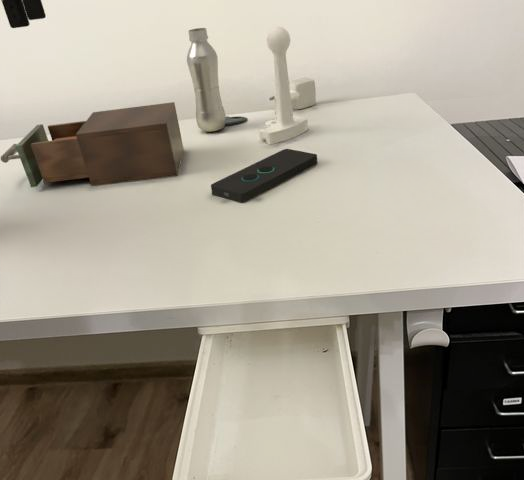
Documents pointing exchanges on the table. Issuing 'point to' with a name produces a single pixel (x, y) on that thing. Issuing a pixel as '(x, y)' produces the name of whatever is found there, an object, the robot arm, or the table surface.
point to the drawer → (50, 154)
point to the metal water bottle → (205, 81)
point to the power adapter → (301, 93)
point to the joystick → (282, 94)
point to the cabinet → (131, 144)
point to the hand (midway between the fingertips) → (29, 22)
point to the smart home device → (263, 175)
